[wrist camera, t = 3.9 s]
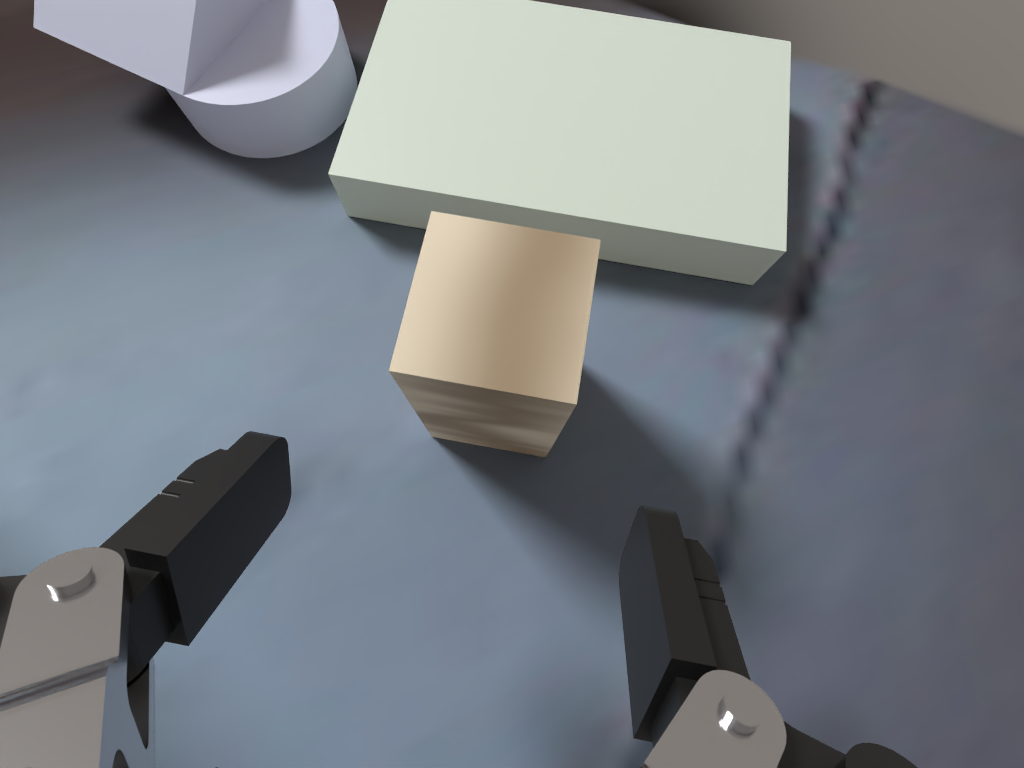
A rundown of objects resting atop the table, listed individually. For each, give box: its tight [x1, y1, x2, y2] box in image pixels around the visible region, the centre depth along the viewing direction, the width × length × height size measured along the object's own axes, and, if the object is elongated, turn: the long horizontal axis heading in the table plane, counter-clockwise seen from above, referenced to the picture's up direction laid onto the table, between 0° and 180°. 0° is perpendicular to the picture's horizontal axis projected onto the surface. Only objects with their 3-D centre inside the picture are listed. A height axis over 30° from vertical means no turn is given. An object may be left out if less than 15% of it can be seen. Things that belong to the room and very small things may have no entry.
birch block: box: [389, 211, 601, 458], centre depth 18 cm, size 5×5×9 cm
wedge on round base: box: [34, 0, 357, 158], centre depth 24 cm, size 9×7×13 cm
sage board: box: [328, 0, 791, 285], centre depth 25 cm, size 20×12×3 cm, turn 80°
